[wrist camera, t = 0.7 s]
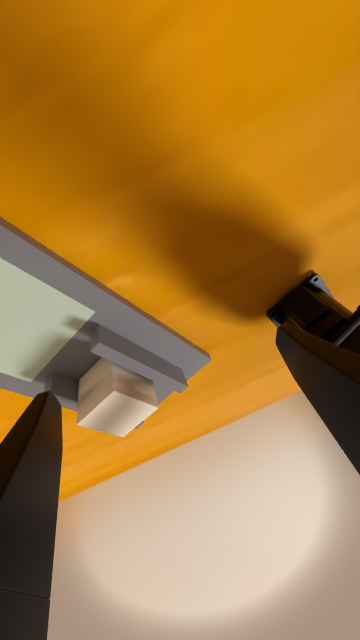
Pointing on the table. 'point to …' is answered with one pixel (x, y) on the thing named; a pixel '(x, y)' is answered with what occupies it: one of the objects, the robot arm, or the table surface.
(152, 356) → the twin rail plate
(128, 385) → the block
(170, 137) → the table surface
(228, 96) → the table surface
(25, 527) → the robot arm
